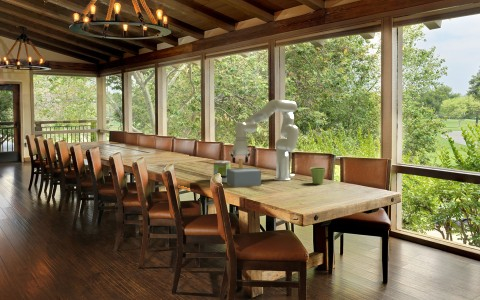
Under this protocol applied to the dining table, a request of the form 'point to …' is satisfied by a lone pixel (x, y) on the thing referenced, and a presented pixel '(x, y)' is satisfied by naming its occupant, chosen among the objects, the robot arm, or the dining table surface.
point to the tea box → (222, 169)
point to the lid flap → (242, 170)
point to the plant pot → (317, 175)
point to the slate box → (244, 179)
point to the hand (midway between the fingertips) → (240, 162)
